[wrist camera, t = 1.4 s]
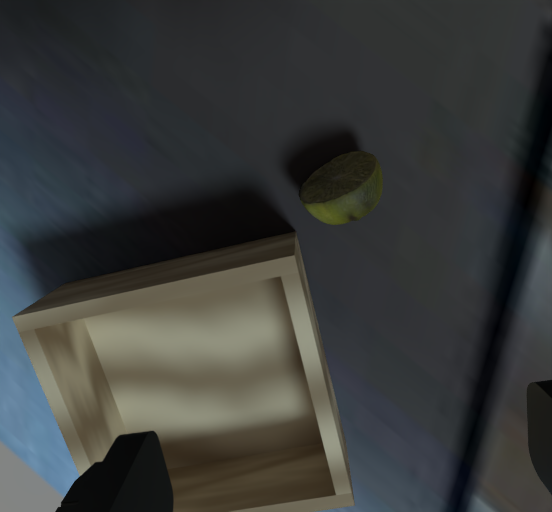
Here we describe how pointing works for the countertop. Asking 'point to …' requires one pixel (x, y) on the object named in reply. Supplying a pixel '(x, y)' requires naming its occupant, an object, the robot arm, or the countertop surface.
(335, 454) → the crate
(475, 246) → the countertop surface
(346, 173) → the lime
